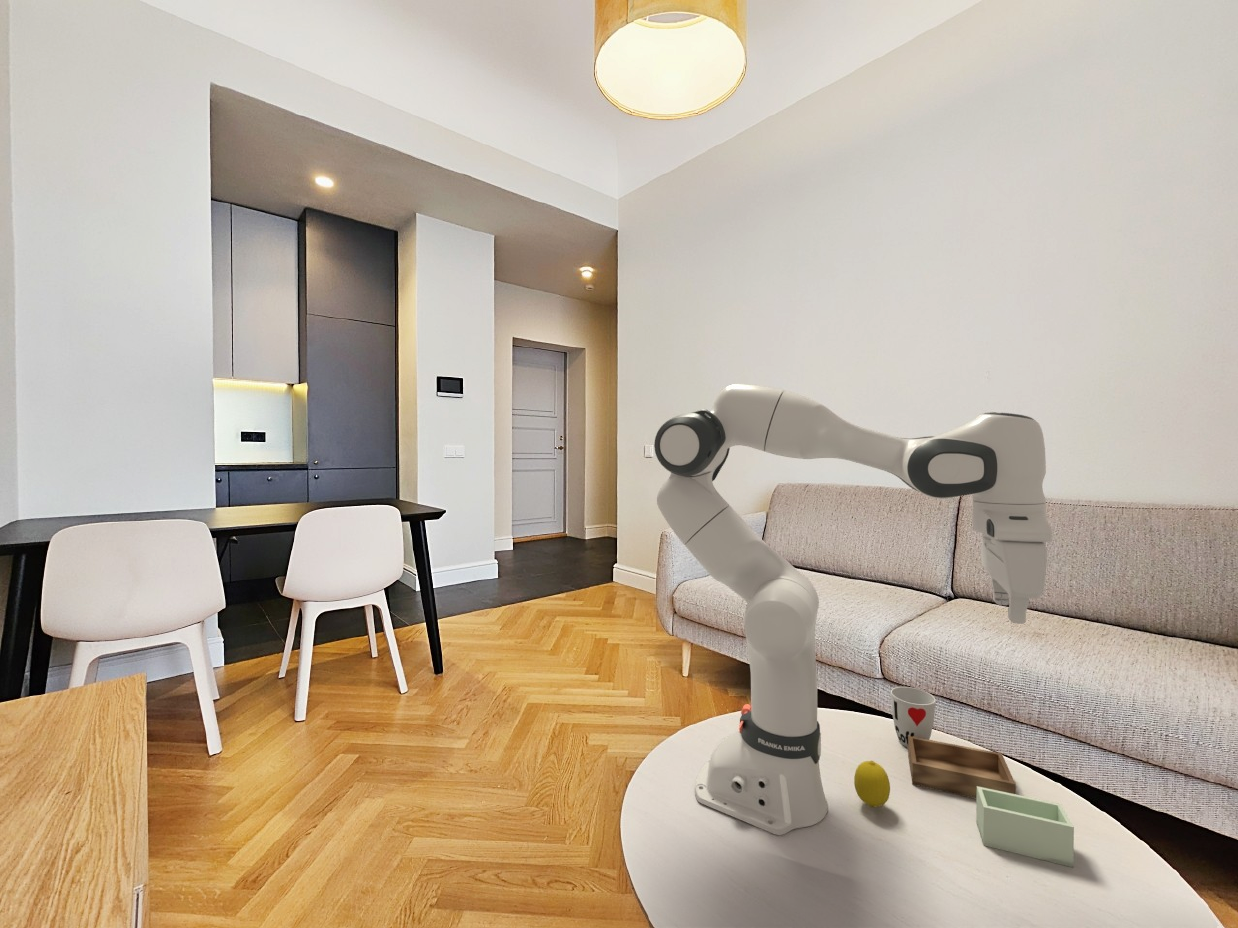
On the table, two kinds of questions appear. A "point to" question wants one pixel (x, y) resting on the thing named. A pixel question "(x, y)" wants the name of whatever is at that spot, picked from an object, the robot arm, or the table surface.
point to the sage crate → (1025, 826)
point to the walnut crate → (957, 768)
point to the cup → (912, 713)
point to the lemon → (872, 784)
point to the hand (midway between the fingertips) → (1008, 612)
